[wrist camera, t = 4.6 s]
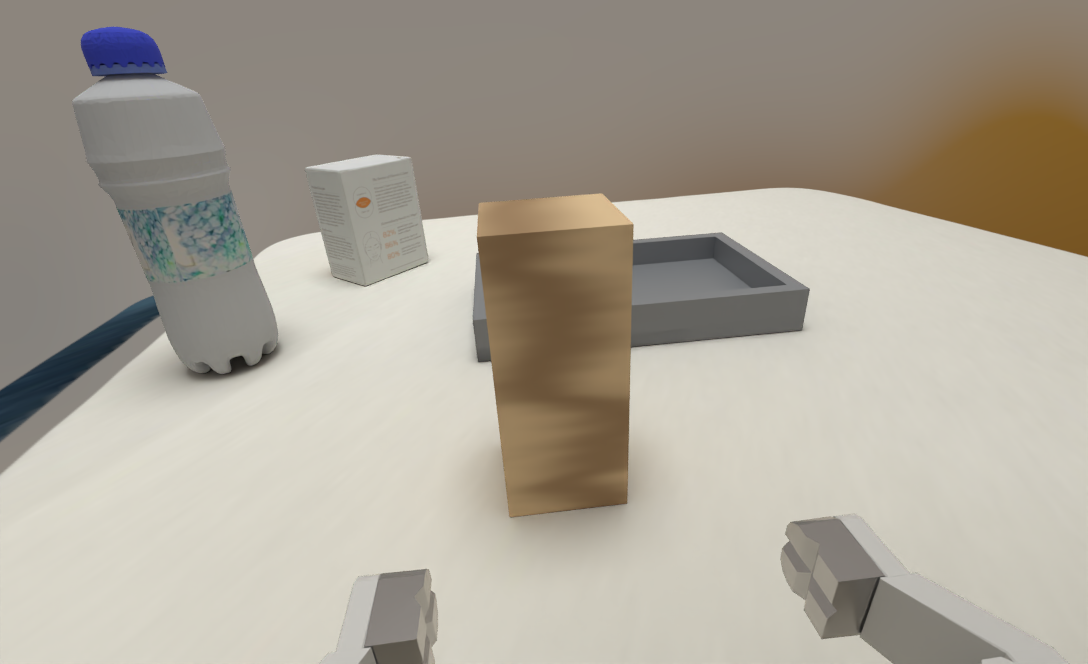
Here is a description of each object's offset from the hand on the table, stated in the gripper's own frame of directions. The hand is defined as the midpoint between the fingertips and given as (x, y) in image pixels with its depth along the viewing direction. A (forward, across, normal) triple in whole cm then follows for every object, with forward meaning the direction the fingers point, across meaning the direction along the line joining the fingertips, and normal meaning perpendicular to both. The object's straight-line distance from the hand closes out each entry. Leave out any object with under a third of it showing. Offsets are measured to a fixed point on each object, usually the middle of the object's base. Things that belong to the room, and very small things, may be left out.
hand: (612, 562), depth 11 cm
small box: (+42, +14, +7) cm, 45 cm away
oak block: (+10, 0, +6) cm, 12 cm away
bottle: (+26, +21, +7) cm, 34 cm away
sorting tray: (+28, -7, +6) cm, 30 cm away
